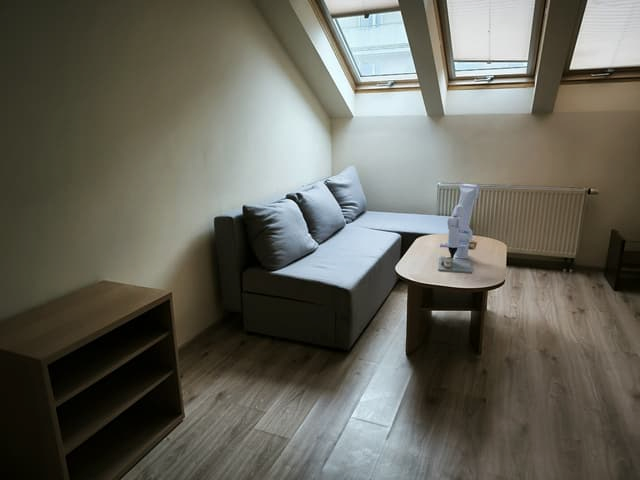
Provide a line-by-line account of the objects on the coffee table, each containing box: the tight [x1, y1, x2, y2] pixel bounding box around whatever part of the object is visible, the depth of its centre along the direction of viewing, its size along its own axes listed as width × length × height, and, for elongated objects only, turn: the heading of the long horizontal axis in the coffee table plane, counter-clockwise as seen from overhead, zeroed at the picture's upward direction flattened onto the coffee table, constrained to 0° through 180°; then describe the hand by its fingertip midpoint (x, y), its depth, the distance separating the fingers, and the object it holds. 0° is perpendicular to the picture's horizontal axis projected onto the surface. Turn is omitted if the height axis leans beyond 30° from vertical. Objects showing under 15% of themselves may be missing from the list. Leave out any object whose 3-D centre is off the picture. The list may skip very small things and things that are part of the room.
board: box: [437, 257, 473, 274], centre depth 257 cm, size 21×18×1 cm
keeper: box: [440, 255, 454, 265], centre depth 256 cm, size 3×6×4 cm, turn 74°
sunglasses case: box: [468, 239, 477, 250], centre depth 295 cm, size 18×7×7 cm, turn 159°
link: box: [444, 254, 451, 268], centre depth 258 cm, size 18×4×3 cm, turn 164°
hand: (451, 259), depth 261 cm, fingers closed
